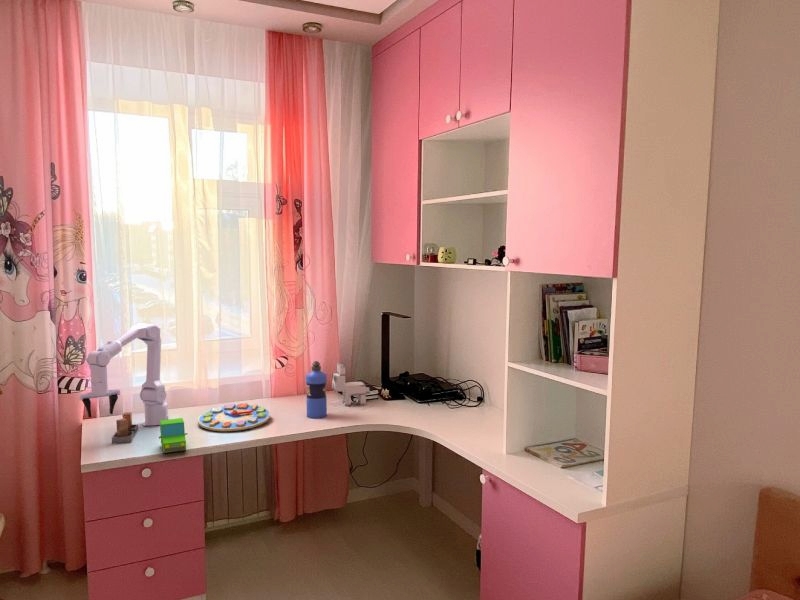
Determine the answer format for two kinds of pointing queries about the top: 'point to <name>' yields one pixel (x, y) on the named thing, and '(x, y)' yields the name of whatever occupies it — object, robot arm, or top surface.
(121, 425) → the wooden block with lid
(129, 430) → the grey compartment box
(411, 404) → the top surface
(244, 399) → the top surface
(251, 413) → the shape sorting clock
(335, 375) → the toy llama
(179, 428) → the toy car
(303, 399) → the top surface
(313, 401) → the water bottle
